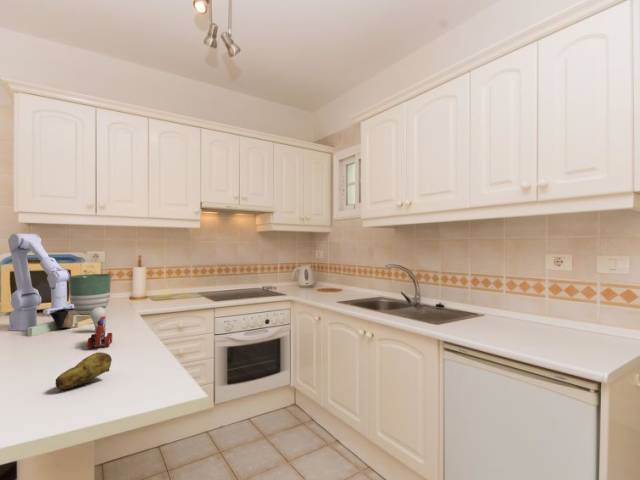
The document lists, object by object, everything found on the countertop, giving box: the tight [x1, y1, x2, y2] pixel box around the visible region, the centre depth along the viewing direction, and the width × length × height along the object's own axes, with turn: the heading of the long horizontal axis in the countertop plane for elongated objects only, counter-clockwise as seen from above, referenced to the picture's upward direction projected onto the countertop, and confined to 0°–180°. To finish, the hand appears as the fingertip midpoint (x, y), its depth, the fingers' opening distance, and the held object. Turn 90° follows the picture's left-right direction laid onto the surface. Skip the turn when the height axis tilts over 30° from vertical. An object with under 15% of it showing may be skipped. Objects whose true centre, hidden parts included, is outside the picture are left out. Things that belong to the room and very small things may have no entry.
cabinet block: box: [55, 313, 75, 330], centre depth 158 cm, size 5×5×7 cm
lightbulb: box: [90, 307, 108, 331], centre depth 152 cm, size 6×6×11 cm
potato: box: [55, 351, 113, 390], centre depth 96 cm, size 8×13×8 cm, turn 122°
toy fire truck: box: [86, 316, 113, 350], centre depth 132 cm, size 7×12×10 cm, turn 23°
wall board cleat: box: [27, 314, 94, 337], centre depth 158 cm, size 10×26×4 cm, turn 176°
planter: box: [68, 273, 112, 315], centre depth 189 cm, size 20×20×21 cm
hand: (59, 327), depth 154 cm, fingers closed, pressing on cabinet block
